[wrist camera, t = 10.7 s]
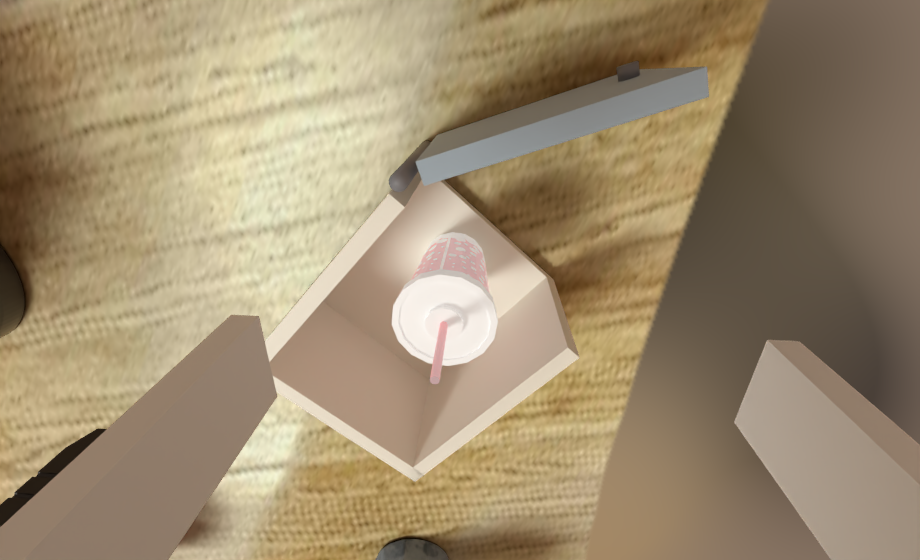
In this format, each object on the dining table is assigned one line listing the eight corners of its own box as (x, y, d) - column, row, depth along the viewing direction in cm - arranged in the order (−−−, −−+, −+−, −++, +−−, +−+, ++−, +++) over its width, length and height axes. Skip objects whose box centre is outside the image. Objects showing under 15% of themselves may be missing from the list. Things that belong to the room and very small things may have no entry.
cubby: (300, 288, 35) (230, 370, 25) (426, 137, 29) (396, 168, 19) (431, 384, 39) (414, 487, 29) (566, 268, 33) (600, 348, 23)
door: (443, 154, 29) (425, 189, 20) (433, 124, 28) (410, 146, 19) (634, 93, 27) (709, 101, 18) (629, 57, 26) (705, 48, 17)
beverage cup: (419, 297, 34) (379, 429, 21) (410, 224, 31) (359, 325, 18) (495, 294, 33) (502, 429, 21) (493, 220, 30) (499, 322, 18)
